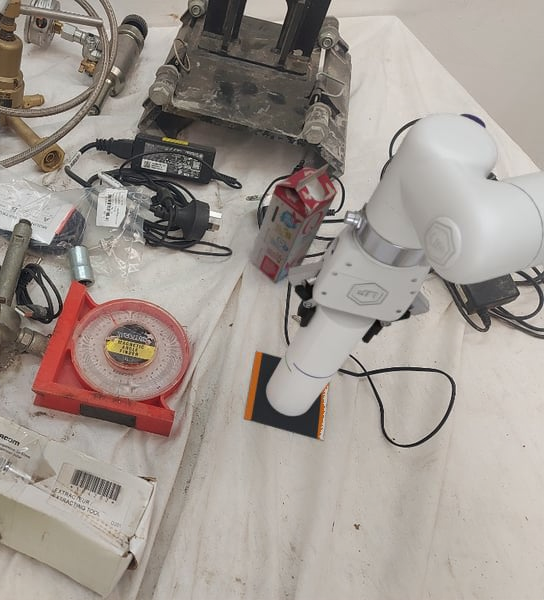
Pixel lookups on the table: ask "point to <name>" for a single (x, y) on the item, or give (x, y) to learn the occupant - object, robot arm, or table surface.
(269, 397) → the cylindrical container
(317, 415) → the mat
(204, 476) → the table surface
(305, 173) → the juice carton
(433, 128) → the robot arm
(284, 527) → the table surface
